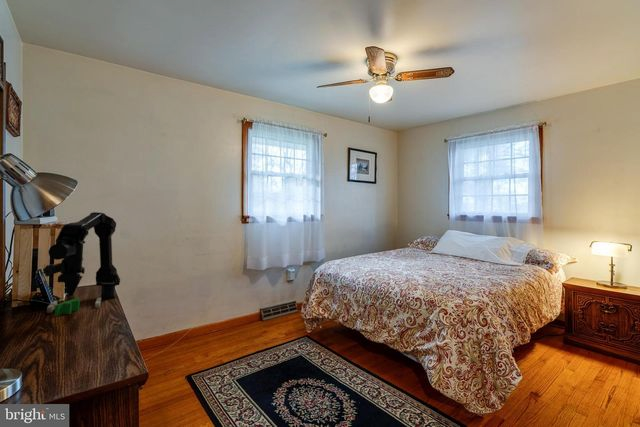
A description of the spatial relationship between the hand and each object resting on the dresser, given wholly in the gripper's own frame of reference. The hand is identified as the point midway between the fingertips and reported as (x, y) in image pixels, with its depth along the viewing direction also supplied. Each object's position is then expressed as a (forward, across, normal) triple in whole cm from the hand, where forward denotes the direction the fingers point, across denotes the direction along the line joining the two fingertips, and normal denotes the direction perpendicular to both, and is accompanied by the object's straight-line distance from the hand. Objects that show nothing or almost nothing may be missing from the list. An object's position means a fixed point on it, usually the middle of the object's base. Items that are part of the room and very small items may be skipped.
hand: (70, 295), depth 118 cm
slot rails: (+9, -19, 0) cm, 21 cm away
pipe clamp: (+10, -11, -1) cm, 15 cm away
